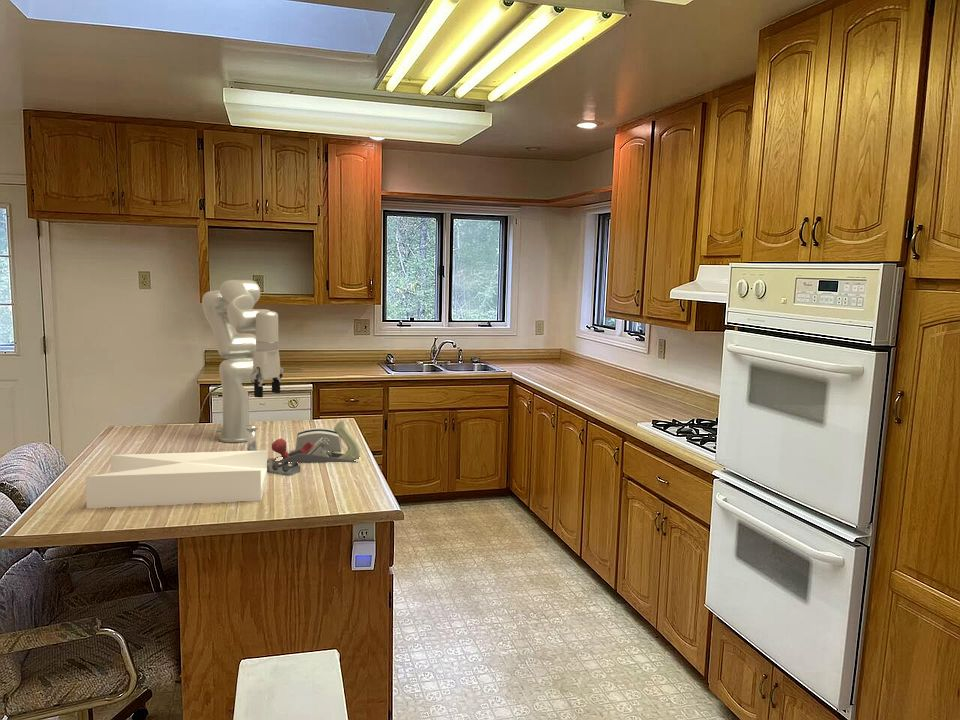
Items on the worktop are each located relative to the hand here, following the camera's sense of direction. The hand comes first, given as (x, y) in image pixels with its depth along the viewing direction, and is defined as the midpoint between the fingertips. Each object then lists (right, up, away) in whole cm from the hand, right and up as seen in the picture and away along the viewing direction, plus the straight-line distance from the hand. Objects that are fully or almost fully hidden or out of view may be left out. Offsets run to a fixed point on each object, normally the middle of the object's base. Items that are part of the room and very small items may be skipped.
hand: (267, 394), depth 237 cm
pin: (-6, -22, +1) cm, 23 cm away
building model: (-12, -27, -39) cm, 49 cm away
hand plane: (+18, -23, -1) cm, 29 cm away
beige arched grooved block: (+15, -22, +11) cm, 29 cm away
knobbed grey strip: (0, -24, -12) cm, 26 cm away
